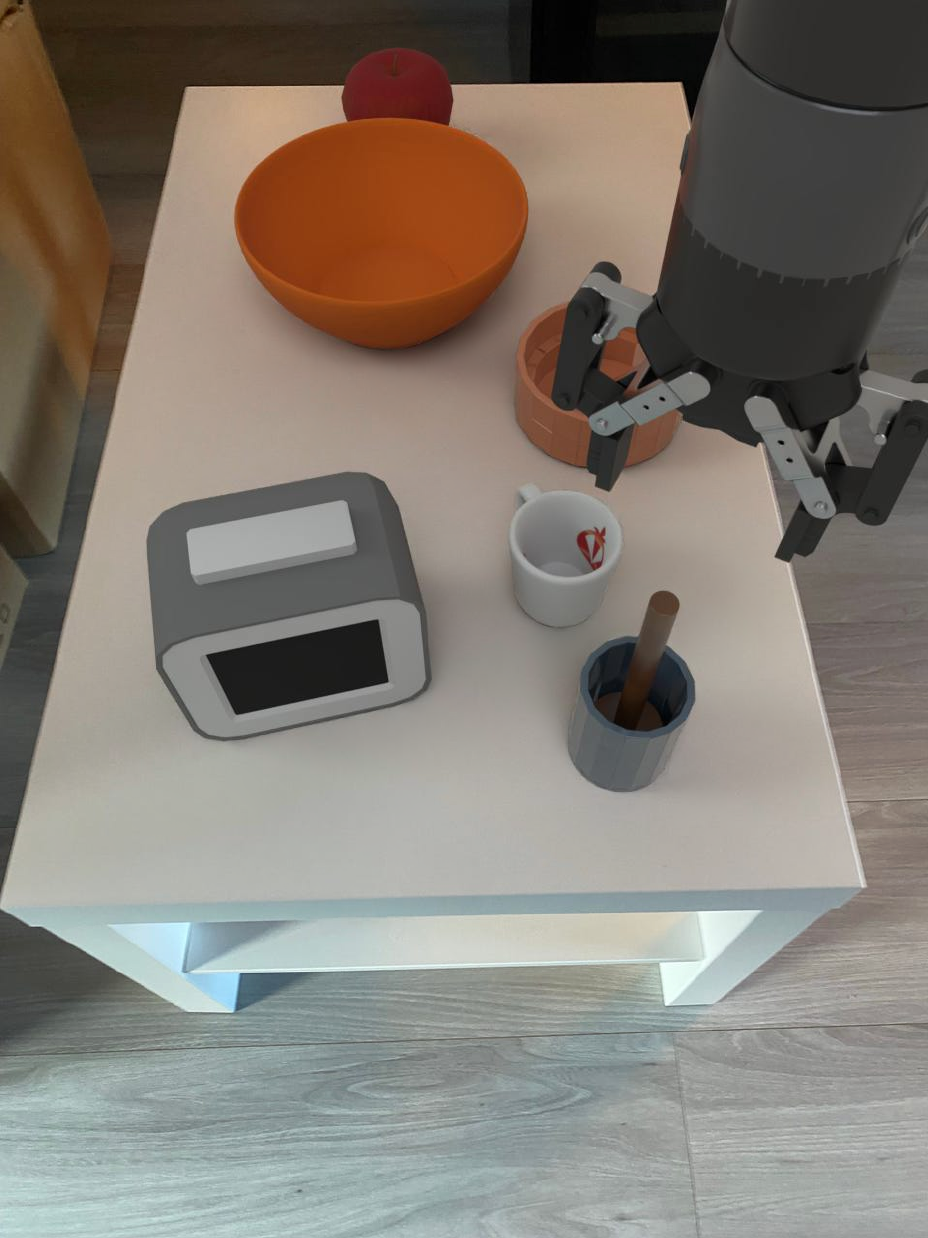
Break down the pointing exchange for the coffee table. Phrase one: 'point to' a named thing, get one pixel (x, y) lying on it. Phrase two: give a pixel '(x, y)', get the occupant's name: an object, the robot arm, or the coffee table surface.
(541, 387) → the mixing bowl
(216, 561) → the alarm clock
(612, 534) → the cup
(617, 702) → the wooden plunger
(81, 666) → the coffee table surface
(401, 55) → the apple
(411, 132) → the bowl
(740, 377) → the robot arm
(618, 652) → the utensil crock
